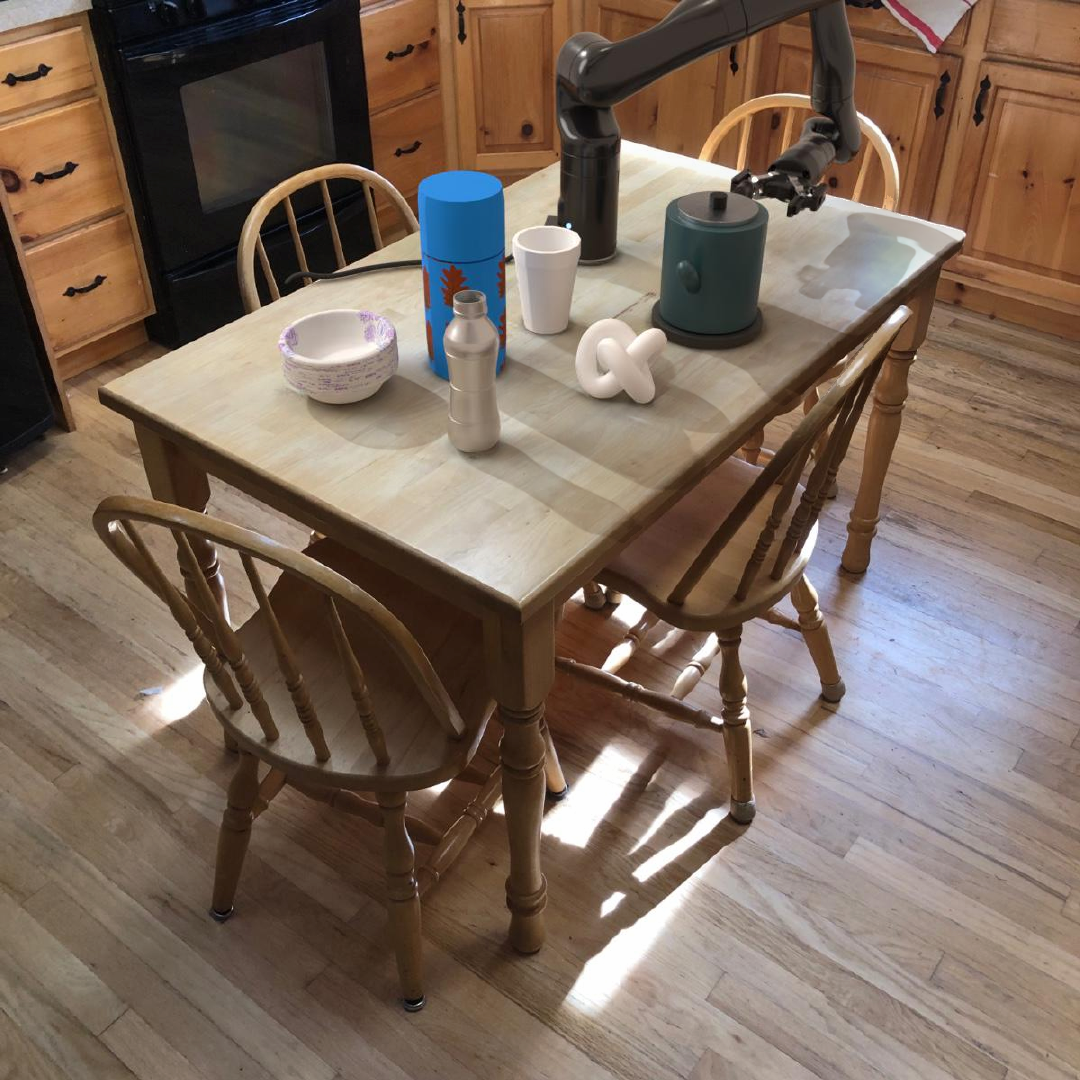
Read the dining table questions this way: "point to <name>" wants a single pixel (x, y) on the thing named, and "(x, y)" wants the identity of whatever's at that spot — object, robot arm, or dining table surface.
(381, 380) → the paper bowls
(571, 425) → the dining table surface
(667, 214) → the kettle
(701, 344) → the kettle base
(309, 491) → the dining table surface
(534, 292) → the foam cup
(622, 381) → the white knot sculpture
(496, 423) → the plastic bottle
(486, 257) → the thermos
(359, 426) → the dining table surface
